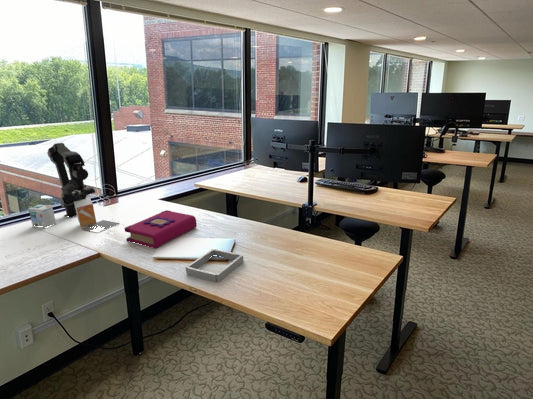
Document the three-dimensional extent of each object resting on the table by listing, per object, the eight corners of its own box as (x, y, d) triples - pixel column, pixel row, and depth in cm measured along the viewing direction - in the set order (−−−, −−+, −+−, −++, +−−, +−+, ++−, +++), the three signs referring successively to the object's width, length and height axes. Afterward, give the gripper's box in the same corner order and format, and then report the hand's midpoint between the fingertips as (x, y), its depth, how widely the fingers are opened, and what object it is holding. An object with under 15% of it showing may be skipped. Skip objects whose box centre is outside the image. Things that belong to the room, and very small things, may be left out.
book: (197, 228, 197) (195, 214, 194) (156, 250, 174) (153, 234, 172) (167, 222, 207) (165, 209, 205) (125, 241, 185) (122, 227, 182)
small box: (81, 227, 205) (76, 207, 197) (78, 220, 209) (73, 201, 201) (97, 223, 209) (92, 203, 201) (93, 216, 213) (89, 197, 205)
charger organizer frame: (185, 274, 150) (184, 267, 149) (213, 254, 166) (212, 248, 165) (218, 282, 143) (217, 275, 142) (244, 261, 158) (243, 254, 158)
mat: (80, 229, 202) (80, 228, 202) (103, 220, 213) (103, 219, 213) (97, 233, 196) (97, 232, 196) (119, 223, 207) (119, 223, 207)
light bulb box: (32, 226, 209) (27, 208, 206) (43, 222, 215) (38, 204, 212) (46, 228, 205) (41, 209, 202) (57, 224, 211) (52, 205, 208)
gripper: (51, 179, 200) (57, 207, 204) (74, 182, 191) (80, 212, 196) (70, 174, 209) (76, 201, 214) (93, 177, 200) (98, 205, 205)
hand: (82, 205), depth 207 cm, fingers closed
